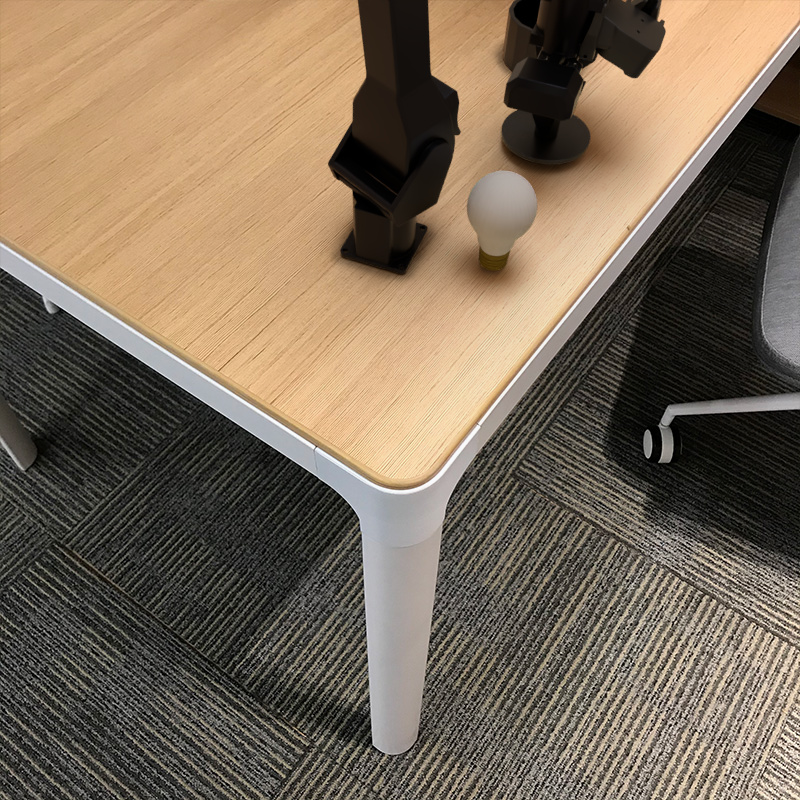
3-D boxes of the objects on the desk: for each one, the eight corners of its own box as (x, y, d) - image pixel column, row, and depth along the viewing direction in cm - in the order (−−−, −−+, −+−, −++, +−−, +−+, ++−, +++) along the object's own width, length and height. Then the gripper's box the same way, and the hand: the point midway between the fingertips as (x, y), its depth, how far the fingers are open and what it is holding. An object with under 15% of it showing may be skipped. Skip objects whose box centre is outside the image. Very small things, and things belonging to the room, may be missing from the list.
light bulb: (449, 252, 71) (459, 163, 63) (507, 238, 73) (523, 149, 64) (475, 297, 68) (488, 210, 60) (534, 280, 69) (555, 193, 61)
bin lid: (576, 178, 77) (587, 139, 73) (489, 155, 79) (494, 116, 75) (596, 126, 82) (607, 87, 78) (514, 106, 84) (520, 67, 80)
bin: (567, 88, 87) (578, 41, 82) (493, 70, 88) (499, 23, 84) (585, 48, 92) (596, 2, 87) (514, 32, 93) (521, -14, 89)
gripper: (653, 45, 59) (604, 203, 72) (690, -60, 69) (641, 95, 82) (515, 14, 61) (491, 173, 74) (571, -83, 72) (541, 71, 84)
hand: (546, 126), depth 79 cm, fingers closed on bin lid, 2 cm apart
